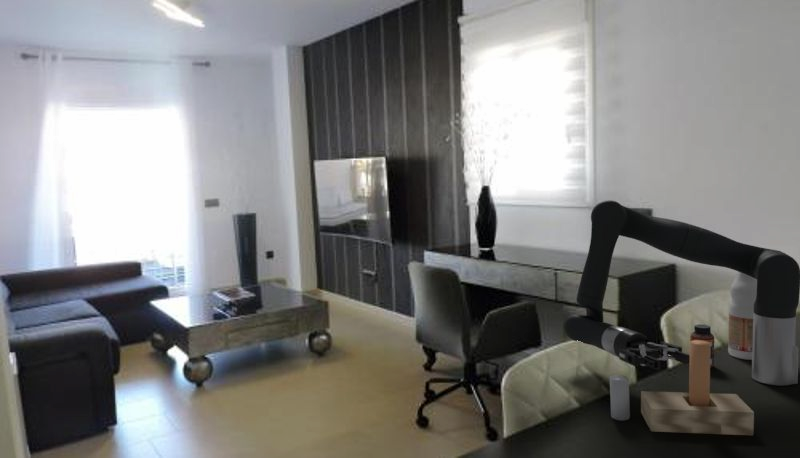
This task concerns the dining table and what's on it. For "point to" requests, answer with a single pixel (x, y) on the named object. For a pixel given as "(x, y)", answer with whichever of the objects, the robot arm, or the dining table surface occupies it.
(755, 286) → the white plastic bottle
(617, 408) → the short dowel
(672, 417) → the wooden block with hole
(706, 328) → the supplement bottle
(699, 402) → the long dowel
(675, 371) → the dining table surface
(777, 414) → the dining table surface
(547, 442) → the dining table surface
